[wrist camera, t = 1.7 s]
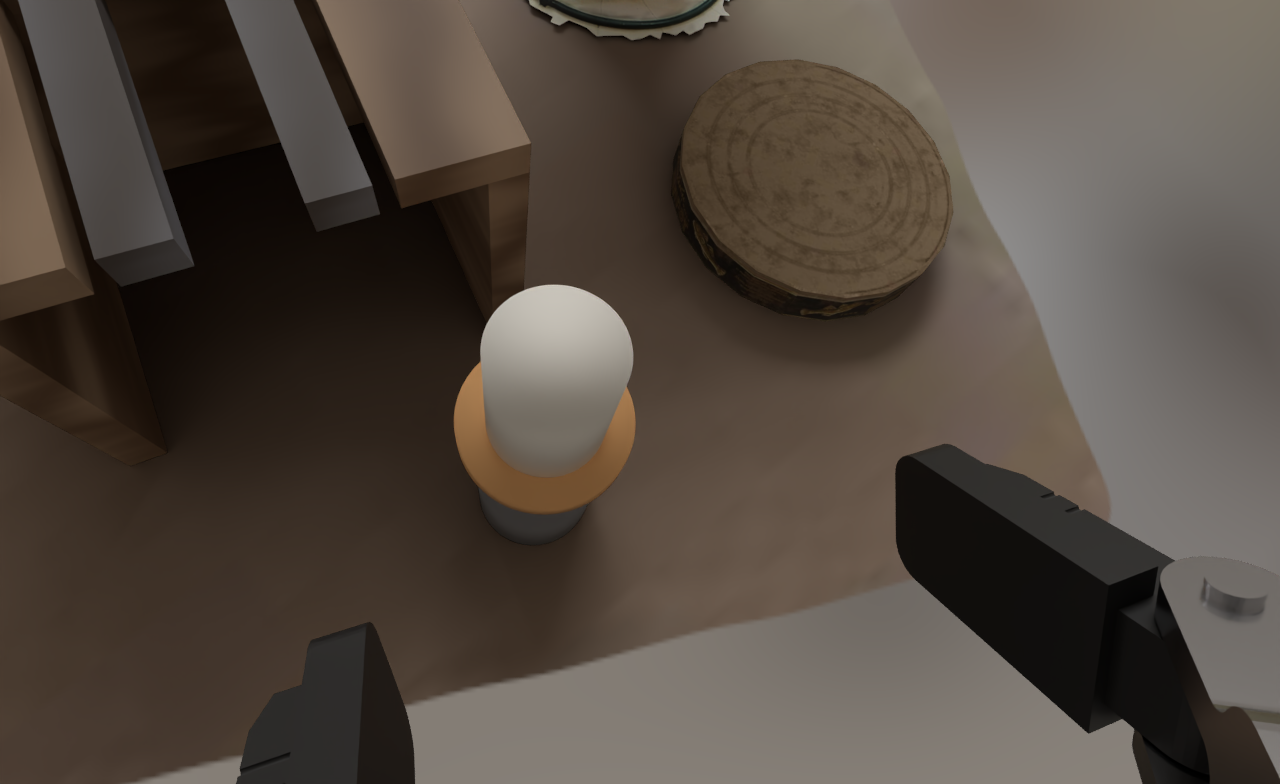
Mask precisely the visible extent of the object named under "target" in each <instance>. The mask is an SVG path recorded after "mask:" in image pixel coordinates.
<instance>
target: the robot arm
mask: <svg viewBox="0 0 1280 784" xmlns="http://www.w3.org/2000/svg"><path fill="white" fill-rule="evenodd" d="M895 481H896V543H897V548H898V552H899V555H900V558H901V560H902V562H903V564H904V566H905V567H906V569H907V571H908V572H909V573H910V575H911V576H912V577H913V578H914V579H915V580H916V581H917V582H918V583H920V584H921V585H922V586H923V587H924V588H925V589H926V590H927V591H929V592H930V593H931V594H932V595H933V596H934V597H935V598H937V599H938V600H939V601H940V602H941V603H942V604H943V605H944V606H945V607H947V608H948V609H949V610H950V611H951V612H952V613H953V614H954V615H956V616H957V617H958V618H959V619H960V620H961V621H962V622H963V623H965V624H966V625H967V626H968V627H969V628H970V629H971V630H972V631H974V632H975V633H976V634H977V635H978V636H979V637H980V638H982V639H983V640H984V641H985V642H986V643H987V644H988V645H989V646H991V647H992V648H993V649H994V650H995V651H996V652H997V653H998V654H999V655H1001V656H1002V657H1003V658H1004V659H1005V660H1006V661H1007V662H1008V663H1010V664H1011V665H1012V666H1013V667H1014V668H1015V669H1016V670H1017V671H1019V672H1020V673H1021V674H1022V675H1023V676H1024V677H1025V678H1026V679H1028V680H1029V681H1030V682H1031V683H1032V684H1033V685H1034V686H1036V687H1037V688H1038V689H1039V690H1040V691H1041V692H1042V693H1043V694H1044V695H1046V696H1047V697H1048V698H1049V699H1050V700H1051V701H1052V702H1053V703H1055V704H1056V705H1057V706H1058V707H1059V708H1060V709H1061V710H1062V711H1064V712H1065V713H1066V714H1067V715H1068V716H1069V717H1070V718H1071V719H1073V720H1074V721H1075V722H1076V723H1077V724H1078V725H1079V726H1080V727H1082V728H1083V729H1084V730H1085V731H1086V732H1087V733H1091V732H1093V731H1096V730H1098V729H1100V728H1103V727H1105V726H1107V725H1109V724H1112V723H1114V722H1116V721H1118V720H1120V719H1123V720H1125V721H1126V722H1127V723H1128V724H1130V725H1131V726H1132V727H1133V728H1134V734H1133V741H1132V747H1133V753H1134V757H1135V760H1136V763H1137V767H1138V770H1139V773H1140V777H1141V780H1142V784H1280V576H1278V575H1276V574H1274V573H1272V572H1270V571H1268V570H1266V569H1263V568H1260V567H1257V566H1254V565H1252V564H1249V563H1245V562H1241V561H1237V560H1232V559H1227V558H1218V557H1190V558H1184V559H1180V560H1177V561H1175V560H1173V559H1171V558H1169V557H1168V556H1166V555H1164V554H1162V553H1160V552H1159V551H1157V550H1155V549H1154V548H1151V547H1150V546H1148V545H1146V544H1145V543H1143V542H1141V541H1139V540H1138V539H1136V538H1134V537H1132V536H1131V535H1128V534H1127V533H1125V532H1124V531H1122V530H1120V529H1118V528H1117V527H1115V526H1113V525H1111V524H1109V523H1108V522H1106V521H1104V520H1102V519H1101V518H1099V517H1097V516H1095V515H1094V514H1092V513H1090V512H1088V511H1087V510H1085V509H1084V510H1082V511H1081V510H1080V509H1079V507H1078V505H1076V504H1074V503H1072V502H1071V501H1069V500H1067V499H1065V498H1064V497H1062V496H1060V495H1058V496H1055V495H1054V492H1053V491H1051V490H1050V489H1048V488H1046V487H1044V486H1043V485H1041V484H1039V483H1037V482H1036V481H1034V480H1032V479H1030V478H1028V477H1027V476H1025V475H1023V474H1019V473H1016V472H1013V471H1009V470H1006V469H1003V468H999V467H996V466H992V465H989V464H984V463H982V462H980V461H979V460H977V459H975V458H974V457H972V456H970V455H969V454H967V453H965V452H963V451H962V450H960V449H958V448H957V447H955V446H953V445H950V444H942V445H939V446H936V447H933V448H930V449H926V450H923V451H920V452H917V453H914V454H910V455H907V456H904V457H902V458H900V460H899V461H898V463H897V465H896V473H895ZM240 772H241V776H239V777H238V778H237V783H236V784H415V768H414V748H413V740H412V734H411V729H410V724H409V720H408V716H407V712H406V709H405V706H404V703H403V700H402V698H401V695H400V692H399V690H398V687H397V684H396V682H395V679H394V676H393V674H392V671H391V668H390V666H389V663H388V660H387V658H386V655H385V652H384V650H383V647H382V644H381V642H380V639H379V636H378V634H377V631H376V629H375V627H374V626H373V624H372V623H371V622H368V623H365V624H361V625H358V626H355V627H352V628H349V629H345V630H342V631H339V632H336V633H333V634H329V635H326V636H323V637H320V638H317V639H313V640H311V641H310V643H309V646H308V651H307V657H306V663H305V669H304V675H303V681H302V685H300V686H297V687H294V688H291V689H288V690H285V691H282V692H279V693H275V694H274V695H273V696H272V698H271V699H270V701H269V702H268V704H267V705H266V707H265V708H264V710H263V711H262V713H261V714H260V716H259V717H258V719H257V720H256V722H255V723H254V725H253V726H252V727H251V729H250V730H249V733H248V737H247V741H246V745H245V749H244V754H243V758H242V762H241V766H240Z"/></svg>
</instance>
